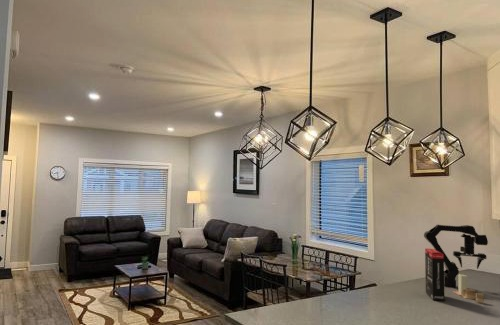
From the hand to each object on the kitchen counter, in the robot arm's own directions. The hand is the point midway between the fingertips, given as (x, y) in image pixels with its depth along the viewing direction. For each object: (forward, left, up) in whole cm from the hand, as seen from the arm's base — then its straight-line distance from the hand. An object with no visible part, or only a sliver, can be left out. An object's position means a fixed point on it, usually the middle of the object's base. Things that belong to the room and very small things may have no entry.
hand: (469, 268), depth 244 cm
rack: (-3, -32, -13) cm, 35 cm away
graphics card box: (-24, -38, -13) cm, 47 cm away
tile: (-7, -19, -13) cm, 24 cm away
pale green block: (-7, -19, -13) cm, 24 cm away
